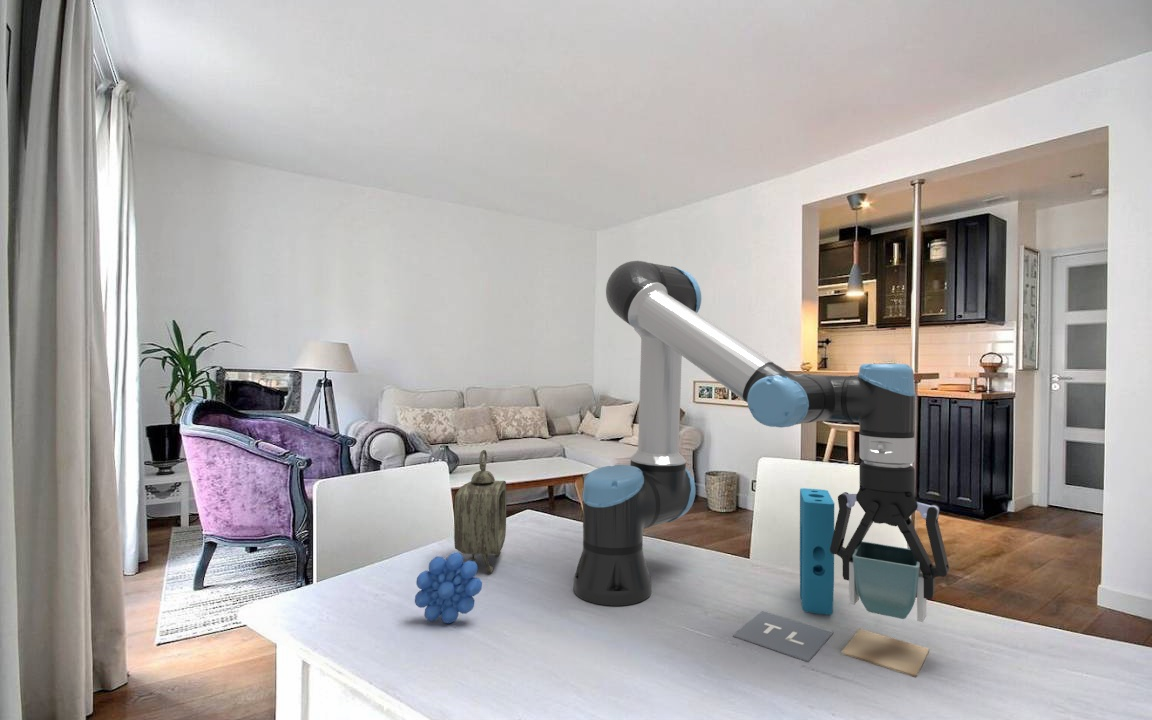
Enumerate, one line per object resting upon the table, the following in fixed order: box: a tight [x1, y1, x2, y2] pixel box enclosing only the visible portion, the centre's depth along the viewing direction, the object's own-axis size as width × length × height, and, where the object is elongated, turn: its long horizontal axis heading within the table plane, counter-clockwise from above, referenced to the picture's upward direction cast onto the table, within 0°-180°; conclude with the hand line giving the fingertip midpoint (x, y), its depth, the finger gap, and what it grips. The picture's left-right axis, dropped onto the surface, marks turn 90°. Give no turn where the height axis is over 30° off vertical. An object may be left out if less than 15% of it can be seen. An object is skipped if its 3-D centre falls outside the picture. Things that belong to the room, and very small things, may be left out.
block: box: [799, 487, 835, 616], centre depth 105 cm, size 12×5×20 cm, turn 162°
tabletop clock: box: [453, 449, 507, 574], centre depth 125 cm, size 14×9×25 cm, turn 179°
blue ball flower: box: [414, 552, 483, 624], centre depth 98 cm, size 12×7×12 cm, turn 85°
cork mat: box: [841, 628, 930, 678], centre depth 88 cm, size 10×10×1 cm
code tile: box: [732, 610, 834, 663], centre depth 93 cm, size 12×12×1 cm
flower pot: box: [853, 540, 920, 620], centre depth 88 cm, size 9×9×9 cm
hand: (886, 609), depth 88 cm, fingers closed on flower pot, 9 cm apart
